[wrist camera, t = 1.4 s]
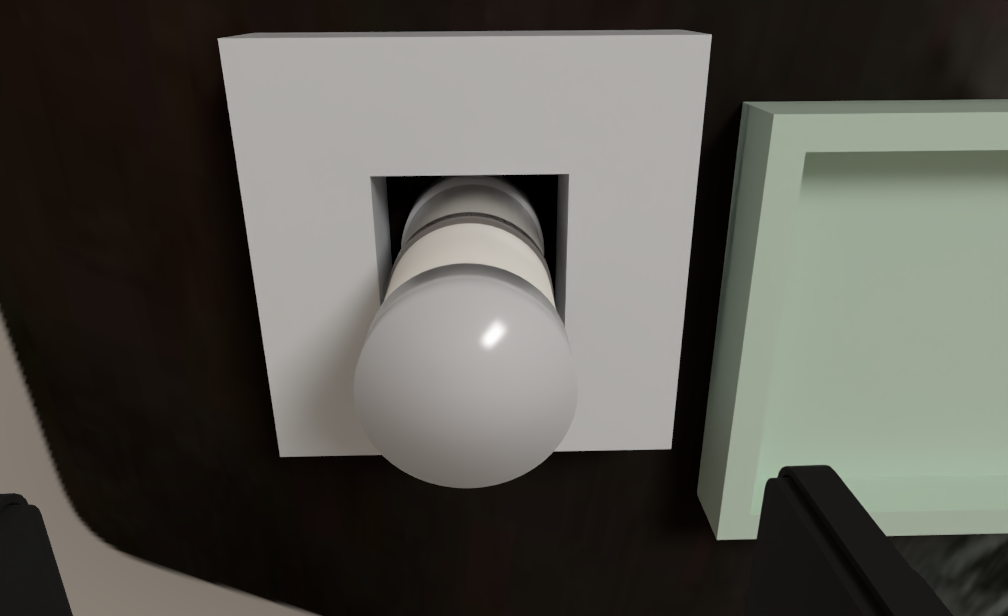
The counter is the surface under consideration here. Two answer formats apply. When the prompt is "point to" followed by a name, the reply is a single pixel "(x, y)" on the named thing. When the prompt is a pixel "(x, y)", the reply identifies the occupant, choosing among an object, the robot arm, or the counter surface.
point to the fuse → (468, 341)
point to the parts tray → (865, 313)
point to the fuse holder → (469, 151)
